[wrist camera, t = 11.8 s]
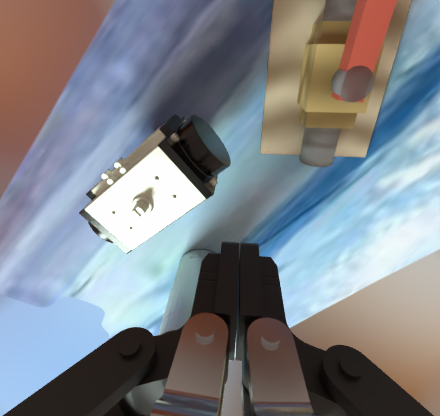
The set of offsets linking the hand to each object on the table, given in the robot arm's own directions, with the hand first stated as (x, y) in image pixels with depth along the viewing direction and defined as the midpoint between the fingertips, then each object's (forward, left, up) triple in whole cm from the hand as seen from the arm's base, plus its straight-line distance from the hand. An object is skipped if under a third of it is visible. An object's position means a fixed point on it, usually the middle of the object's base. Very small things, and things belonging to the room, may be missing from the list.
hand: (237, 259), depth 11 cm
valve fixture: (+5, -11, -31) cm, 33 cm away
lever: (+11, -11, -22) cm, 27 cm away
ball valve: (-6, +10, -32) cm, 34 cm away
